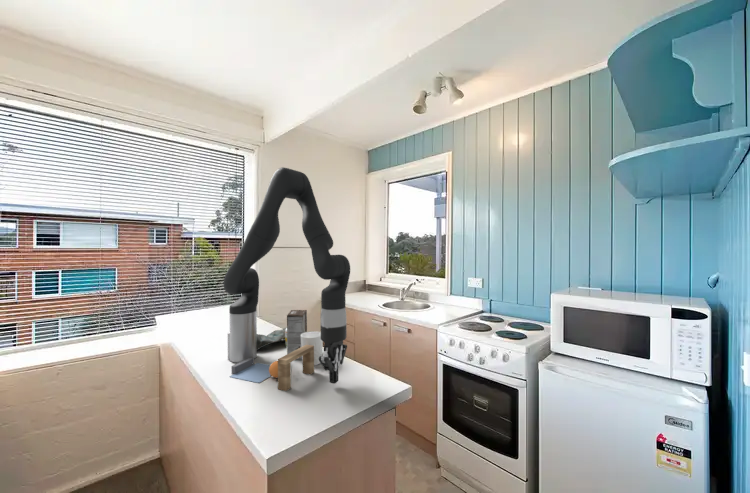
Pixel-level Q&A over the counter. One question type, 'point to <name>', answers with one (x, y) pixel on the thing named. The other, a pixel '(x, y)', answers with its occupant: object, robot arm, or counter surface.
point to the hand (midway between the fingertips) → (333, 382)
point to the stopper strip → (242, 365)
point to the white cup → (313, 343)
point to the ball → (274, 369)
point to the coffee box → (295, 329)
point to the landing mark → (254, 373)
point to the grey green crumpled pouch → (270, 338)
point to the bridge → (285, 365)
